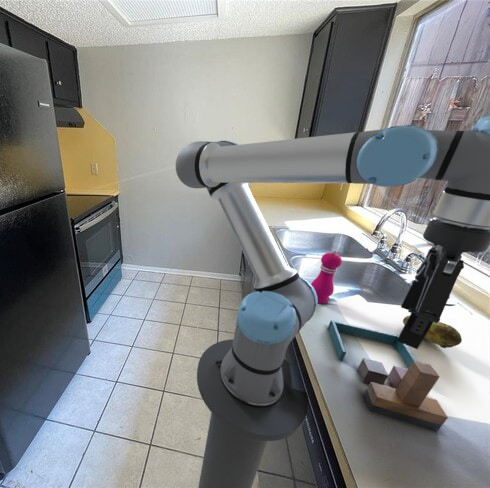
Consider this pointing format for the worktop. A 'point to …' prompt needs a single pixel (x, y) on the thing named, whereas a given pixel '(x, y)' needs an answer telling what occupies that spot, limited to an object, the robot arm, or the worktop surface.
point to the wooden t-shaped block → (409, 398)
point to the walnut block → (372, 371)
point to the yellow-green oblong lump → (441, 334)
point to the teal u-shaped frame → (369, 334)
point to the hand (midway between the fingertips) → (408, 325)
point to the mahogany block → (396, 376)
